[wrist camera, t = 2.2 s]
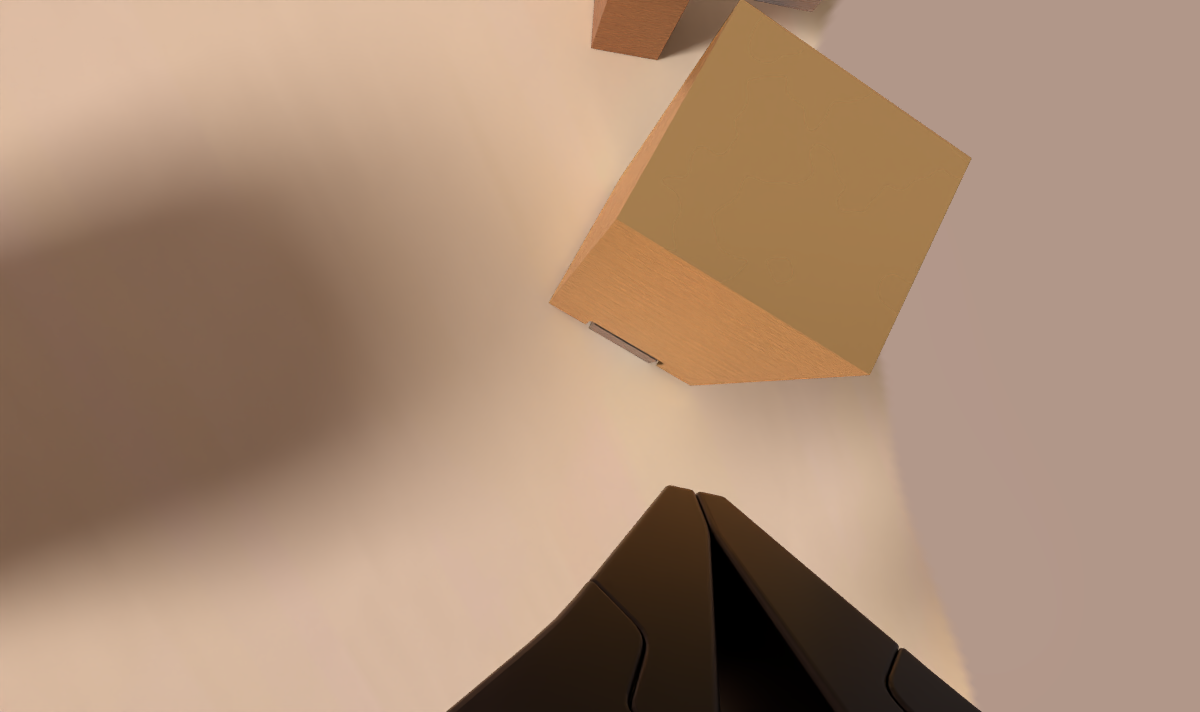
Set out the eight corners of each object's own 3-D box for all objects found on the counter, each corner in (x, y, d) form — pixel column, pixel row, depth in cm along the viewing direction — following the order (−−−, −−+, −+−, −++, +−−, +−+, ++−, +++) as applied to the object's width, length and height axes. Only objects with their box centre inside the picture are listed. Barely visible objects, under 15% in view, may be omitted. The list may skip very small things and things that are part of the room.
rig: (648, 362, 22) (715, 349, 16) (419, 228, 21) (397, 159, 15) (812, 55, 24) (926, -59, 18) (613, -83, 23) (663, -256, 17)
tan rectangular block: (690, 385, 22) (869, 375, 12) (548, 303, 21) (616, 218, 11) (754, 262, 22) (971, 158, 13) (619, 178, 22) (741, -3, 12)
